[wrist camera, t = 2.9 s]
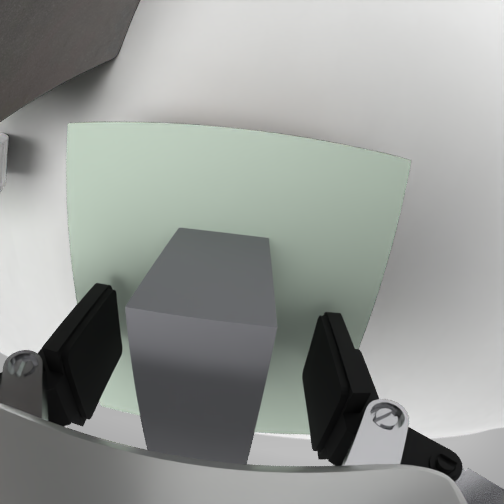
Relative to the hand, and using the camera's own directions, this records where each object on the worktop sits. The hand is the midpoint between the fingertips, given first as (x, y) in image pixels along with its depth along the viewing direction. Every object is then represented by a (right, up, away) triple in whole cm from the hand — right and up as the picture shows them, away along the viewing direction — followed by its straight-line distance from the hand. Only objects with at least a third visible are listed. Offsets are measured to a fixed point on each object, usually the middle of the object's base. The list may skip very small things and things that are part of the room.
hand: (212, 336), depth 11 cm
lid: (0, +1, +3) cm, 3 cm away
